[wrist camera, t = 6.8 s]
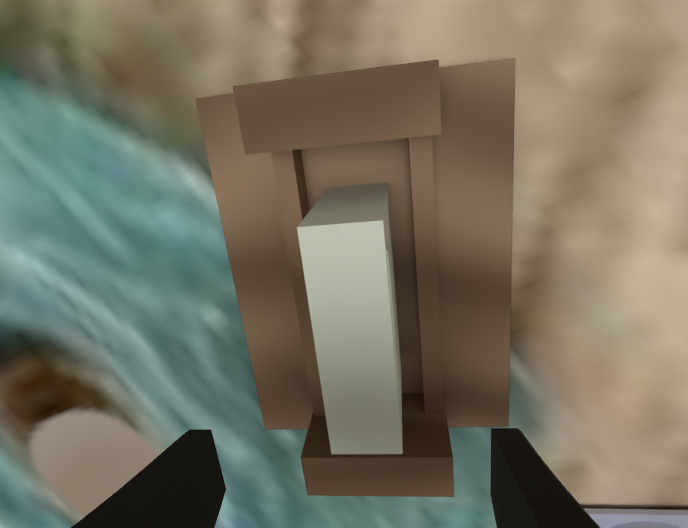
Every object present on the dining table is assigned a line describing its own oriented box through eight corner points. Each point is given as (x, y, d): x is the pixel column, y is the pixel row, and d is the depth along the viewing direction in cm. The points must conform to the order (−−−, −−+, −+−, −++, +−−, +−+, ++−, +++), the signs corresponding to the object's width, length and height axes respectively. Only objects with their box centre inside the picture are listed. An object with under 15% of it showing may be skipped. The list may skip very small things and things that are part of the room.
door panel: (402, 355, 20) (403, 454, 15) (348, 357, 20) (330, 454, 15) (388, 182, 17) (385, 220, 12) (326, 187, 18) (295, 227, 12)
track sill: (503, 412, 22) (532, 497, 17) (270, 416, 23) (239, 494, 19) (508, 60, 16) (553, 44, 12) (205, 99, 18) (139, 98, 13)
